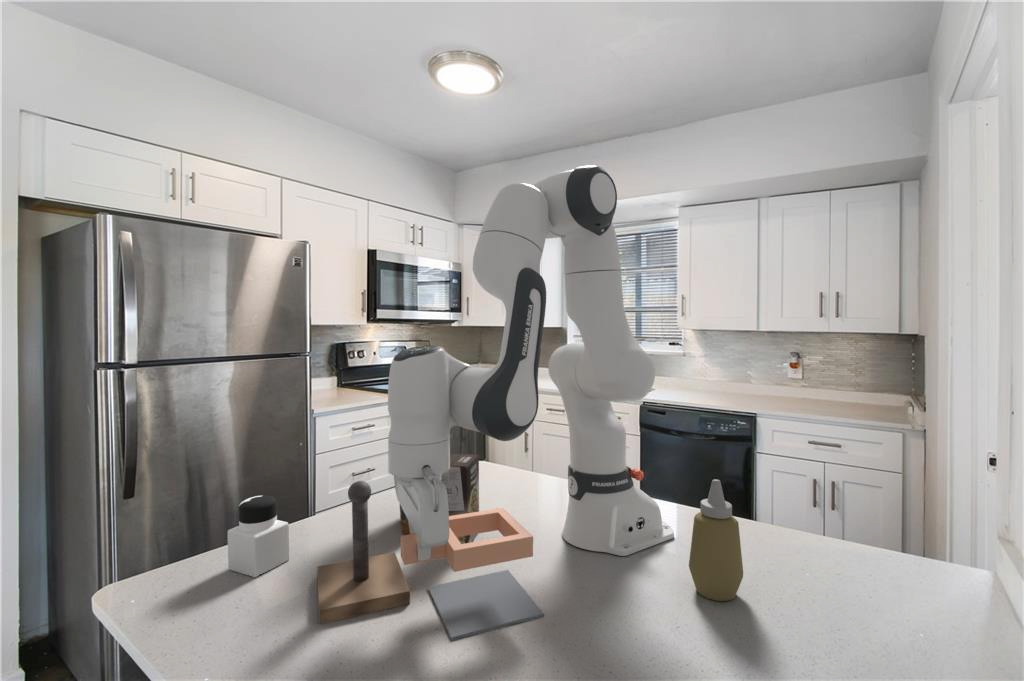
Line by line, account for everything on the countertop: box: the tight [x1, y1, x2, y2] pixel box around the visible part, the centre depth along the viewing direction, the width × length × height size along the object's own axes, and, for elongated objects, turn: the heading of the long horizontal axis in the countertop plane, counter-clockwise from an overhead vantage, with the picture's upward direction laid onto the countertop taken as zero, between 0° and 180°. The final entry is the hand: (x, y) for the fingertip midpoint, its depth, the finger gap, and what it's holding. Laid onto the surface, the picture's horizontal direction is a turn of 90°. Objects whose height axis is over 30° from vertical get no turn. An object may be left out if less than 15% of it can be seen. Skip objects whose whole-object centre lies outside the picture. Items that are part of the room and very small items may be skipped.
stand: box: [316, 480, 411, 625], centre depth 80 cm, size 13×14×18 cm
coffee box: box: [441, 453, 480, 544], centre depth 98 cm, size 9×6×16 cm
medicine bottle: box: [226, 495, 290, 578], centre depth 88 cm, size 7×7×12 cm
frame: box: [400, 507, 534, 573], centre depth 75 cm, size 18×12×3 cm, turn 112°
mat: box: [427, 569, 545, 641], centre depth 76 cm, size 14×14×1 cm
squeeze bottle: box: [688, 479, 744, 602], centre depth 78 cm, size 8×8×18 cm
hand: (420, 551), depth 72 cm, fingers closed on frame, 3 cm apart
